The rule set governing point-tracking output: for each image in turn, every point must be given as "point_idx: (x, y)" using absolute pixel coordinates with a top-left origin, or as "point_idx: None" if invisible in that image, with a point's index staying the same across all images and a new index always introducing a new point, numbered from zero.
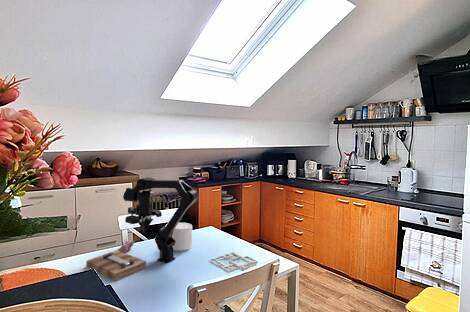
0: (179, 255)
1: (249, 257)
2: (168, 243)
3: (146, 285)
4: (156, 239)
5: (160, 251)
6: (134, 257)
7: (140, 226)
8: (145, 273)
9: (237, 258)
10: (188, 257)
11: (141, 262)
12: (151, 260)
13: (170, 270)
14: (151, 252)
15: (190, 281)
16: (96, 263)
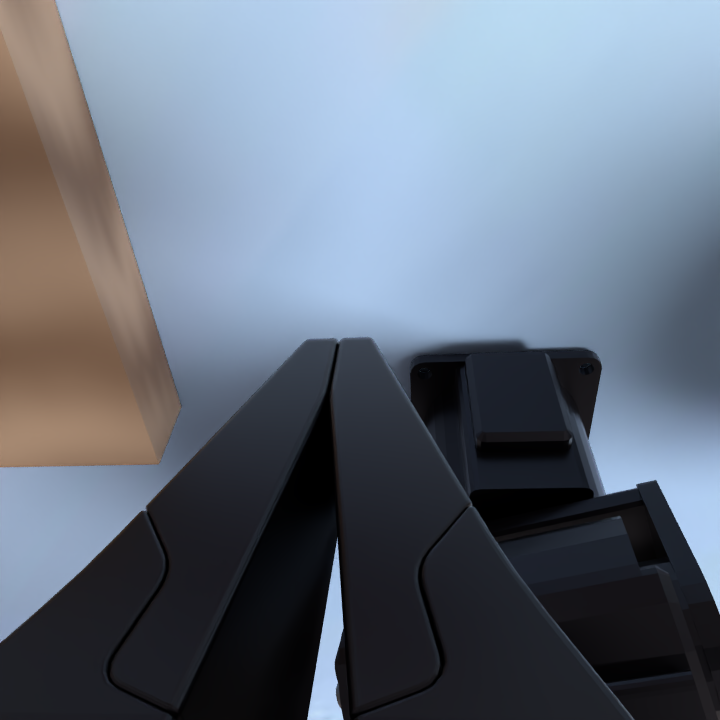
0: (699, 443)
1: None
2: (643, 538)
3: (34, 602)
4: (341, 693)
5: (463, 447)
6: (72, 269)
7: (116, 556)
8: (113, 485)
9: None
10: (692, 532)
11: (94, 450)
12: (352, 309)
13: (332, 578)
14: (588, 52)
15: (317, 717)
16: None
